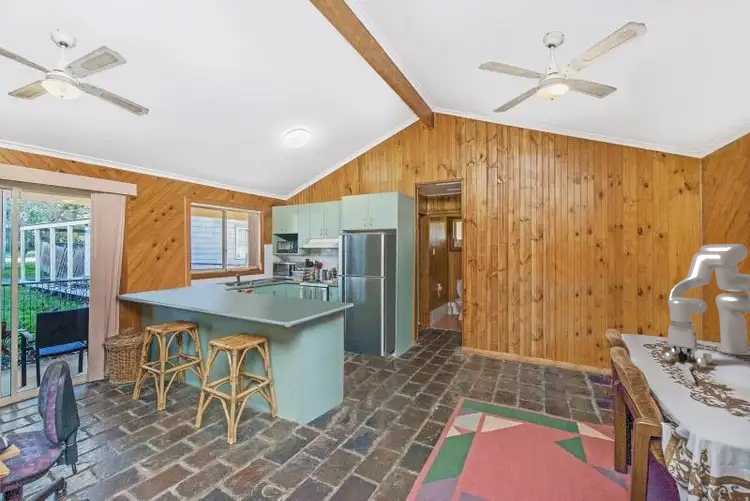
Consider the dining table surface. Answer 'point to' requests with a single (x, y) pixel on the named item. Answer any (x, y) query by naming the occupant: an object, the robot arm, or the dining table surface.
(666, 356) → the spacers
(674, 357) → the nut
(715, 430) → the dining table surface
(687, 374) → the adjustable wrench
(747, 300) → the robot arm
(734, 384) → the dining table surface
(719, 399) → the dining table surface
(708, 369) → the board
